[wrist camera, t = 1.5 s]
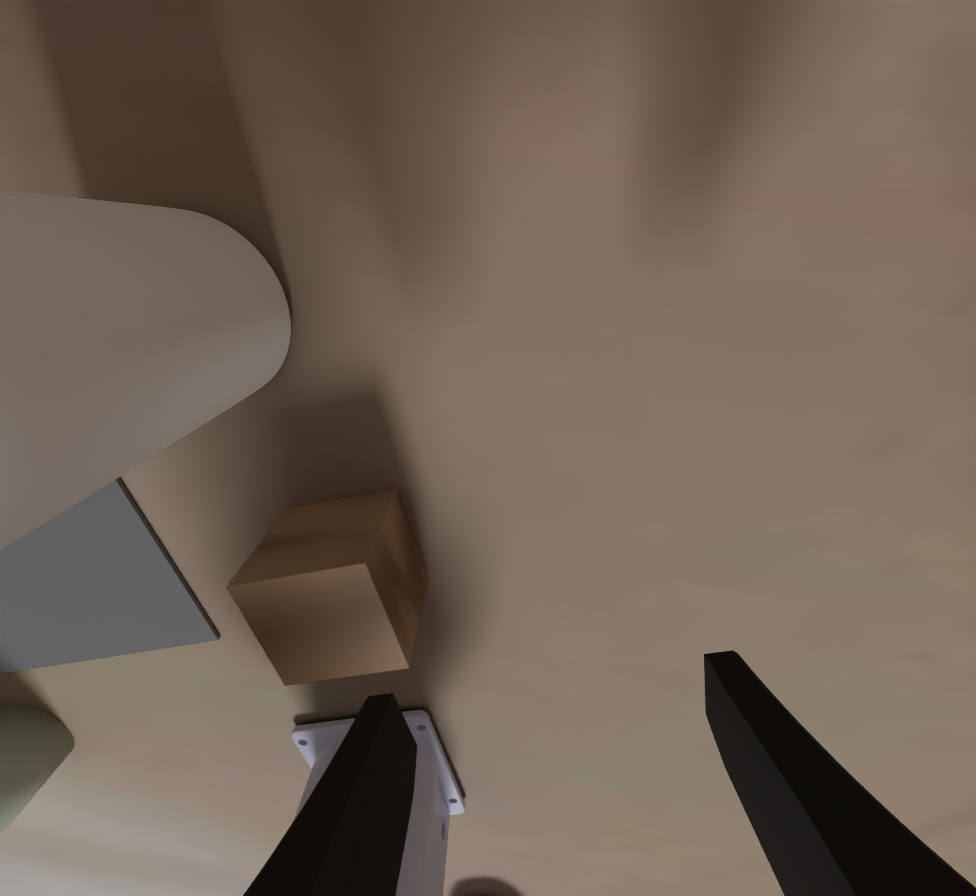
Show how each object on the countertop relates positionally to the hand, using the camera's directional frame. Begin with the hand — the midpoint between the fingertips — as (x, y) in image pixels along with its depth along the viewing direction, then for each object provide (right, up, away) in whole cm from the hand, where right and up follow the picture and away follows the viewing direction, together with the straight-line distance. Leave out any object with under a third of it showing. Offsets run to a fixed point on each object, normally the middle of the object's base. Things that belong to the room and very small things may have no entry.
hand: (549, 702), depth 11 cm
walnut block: (-7, +2, +10) cm, 13 cm away
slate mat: (-23, +1, +11) cm, 26 cm away
